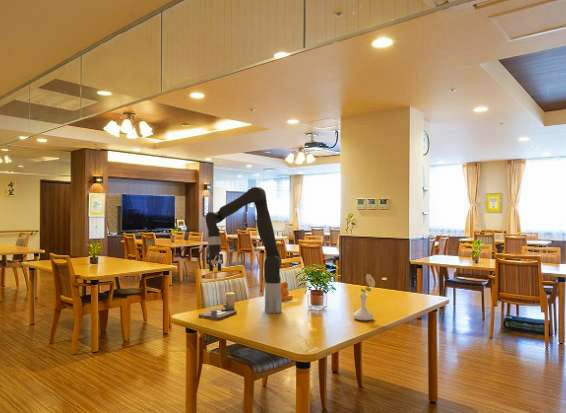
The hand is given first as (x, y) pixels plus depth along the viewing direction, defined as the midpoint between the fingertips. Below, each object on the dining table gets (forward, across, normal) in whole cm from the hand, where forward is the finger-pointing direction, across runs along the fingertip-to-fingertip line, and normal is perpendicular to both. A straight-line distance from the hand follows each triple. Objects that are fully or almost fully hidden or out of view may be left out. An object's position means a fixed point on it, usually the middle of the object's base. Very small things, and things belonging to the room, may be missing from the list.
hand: (215, 271), depth 253 cm
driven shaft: (+24, -17, -10) cm, 31 cm away
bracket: (+22, +48, -22) cm, 57 cm away
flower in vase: (+32, +20, -83) cm, 92 cm away
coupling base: (+25, -10, -8) cm, 28 cm away
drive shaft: (+23, -4, -8) cm, 25 cm away
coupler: (+24, +4, -6) cm, 25 cm away
